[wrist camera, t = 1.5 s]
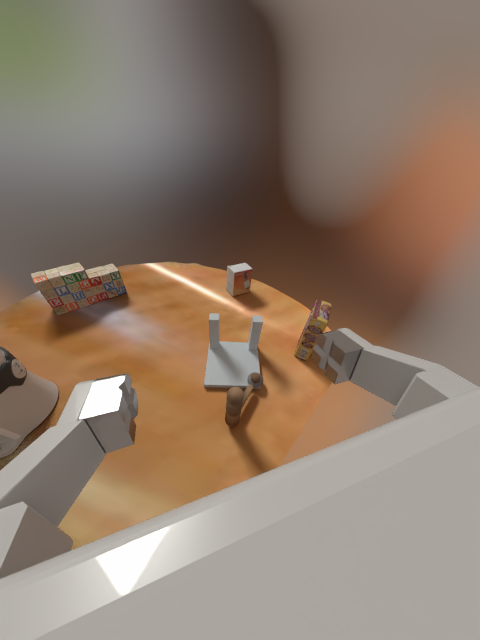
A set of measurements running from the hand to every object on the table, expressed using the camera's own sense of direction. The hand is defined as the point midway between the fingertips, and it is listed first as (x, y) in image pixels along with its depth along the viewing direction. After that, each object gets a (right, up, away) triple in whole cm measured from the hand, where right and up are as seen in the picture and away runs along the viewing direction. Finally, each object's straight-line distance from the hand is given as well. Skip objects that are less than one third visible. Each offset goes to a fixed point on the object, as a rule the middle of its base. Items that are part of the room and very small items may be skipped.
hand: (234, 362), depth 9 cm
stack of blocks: (-52, +9, +62) cm, 81 cm away
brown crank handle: (+1, -17, +38) cm, 41 cm away
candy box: (+20, -7, +53) cm, 57 cm away
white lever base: (-2, -10, +46) cm, 47 cm away
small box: (-1, +13, +73) cm, 74 cm away
